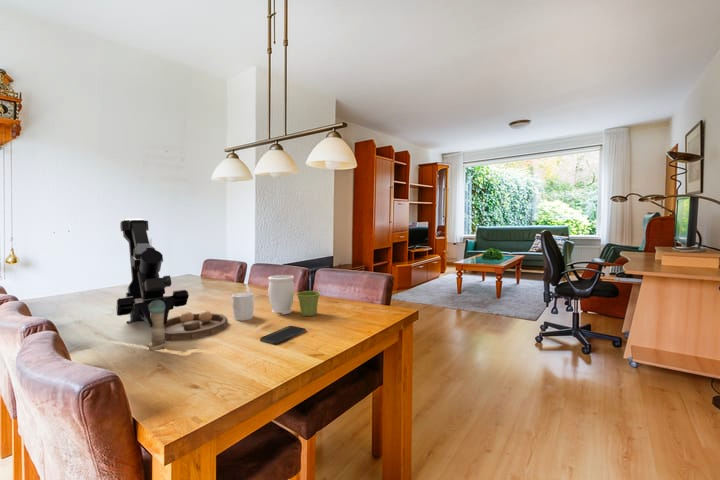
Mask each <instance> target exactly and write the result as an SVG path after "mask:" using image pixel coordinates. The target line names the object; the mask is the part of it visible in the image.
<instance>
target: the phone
mask: <svg viewBox="0 0 720 480" xmlns="http://www.w3.org/2000/svg"><path fill="white" fill-rule="evenodd" d="M306 332H307V329H306V328H305V327H300V326H294V325H288V326H285V327H283V328H281V329H278V330H276V331H273V332H271V333H268V334H266V335H264V336H262V337H259V341H260V342H262V343H267V344H270V345H275V346H277V345H280V344H283V343H284V342H285V343H286V342H287V341H290V340H291V339H293V338H296V337H297V336H298V337H299V336H300V335H302V334H304V333H306Z"/></svg>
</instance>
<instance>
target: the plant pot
mask: <svg viewBox="0 0 720 480" xmlns="http://www.w3.org/2000/svg"><path fill="white" fill-rule="evenodd" d="M320 295H321V292H320V291H316V290H308V291H307V290H304V291H299V292H297V293H296V296H297V298H298V302H299V306H300V315H301V316H302V317H303V316H304V317H307V316H308V317H312V316H316V315H317V313H318V305H319V304H318V303H319V298H320Z"/></svg>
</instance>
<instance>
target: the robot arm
mask: <svg viewBox="0 0 720 480" xmlns="http://www.w3.org/2000/svg"><path fill="white" fill-rule="evenodd" d="M119 227H120V232H122V236H123V238H124V239H125V240H126V241H127V242H128V249H129V250H128V251H129V261H130V271H131V273H130V274H131V282H130V283H129V285H128V287H127V291H125V297H119V298H118V299H117V300H116V306H115V308H116V315H117V316H118V317H120V316H127V315H129V316H130V317H129V318H130V319H129V320H127V321H126V323H127V324H134V323H137V322H144V323H146V325H148V327H149V328H150V329H151V327H152V321H151V313H150V311H149V309H148V306H149V304H150V303H151V302H152V301H154V300H162V301H163V302H164V303H165V310H164V324H165V325H166V324H167V319H169V314H170V313H169V312H170V311H171V310H173V309H174V307H175V308H178V307H182V306H184V307H185V306H186V305H187V304H188V303H187V302H188V300H189V296H190V294H189V292H188V291H187V290H186V289H179V290H173V292H172V295H167V296H166V295H165V294H166V288H170V287H171V286H172V278H171V275H164V276H163V277H160V274H159V273H160V272H161V267H162V263H163V262H164V258H163V254H162V253H161V252H160V251H158V250H157V249H156V248H155V247H154V246H152V245H151V244H150V240H149V236H148V233H147V231H149V221H148V220H146V219H143V218H125V219H124V220H121V221H120V226H119ZM164 295H165V296H164Z"/></svg>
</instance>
